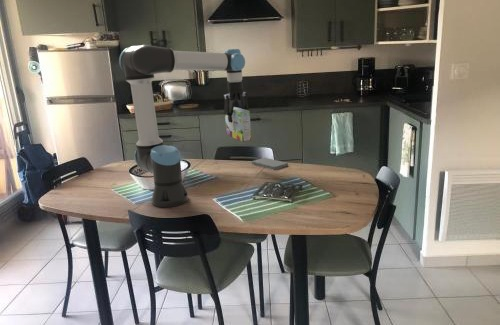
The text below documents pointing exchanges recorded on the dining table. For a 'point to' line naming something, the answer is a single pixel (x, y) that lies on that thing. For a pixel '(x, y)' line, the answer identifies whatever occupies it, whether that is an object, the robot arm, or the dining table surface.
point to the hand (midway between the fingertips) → (237, 127)
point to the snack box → (239, 125)
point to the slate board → (269, 163)
